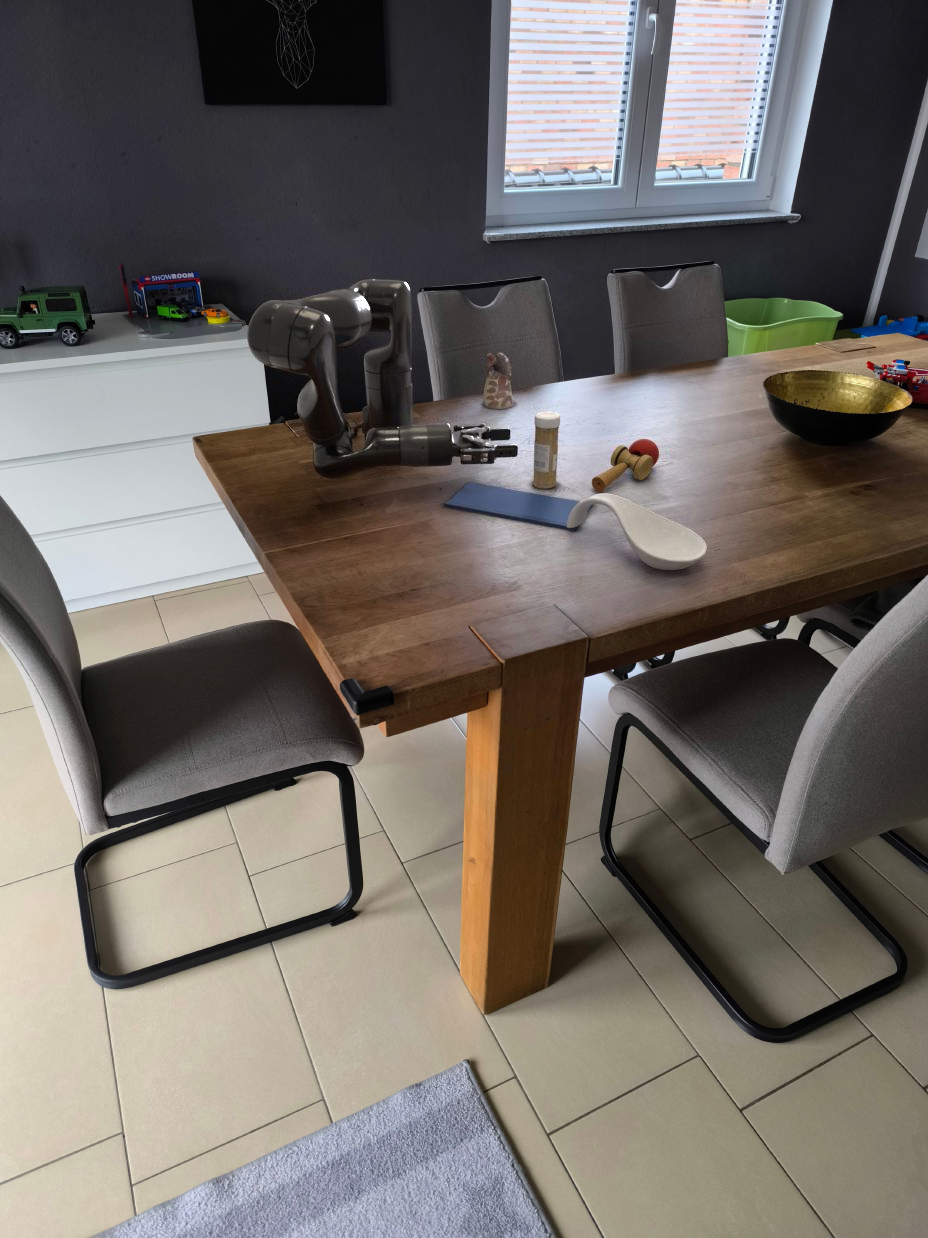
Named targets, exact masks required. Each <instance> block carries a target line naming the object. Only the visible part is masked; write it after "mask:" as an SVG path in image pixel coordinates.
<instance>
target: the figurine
mask: <svg viewBox="0 0 928 1238" xmlns="http://www.w3.org/2000/svg"><path fill="white" fill-rule="evenodd" d="M487 358H488V359H489V361H488V363H487V364H486V367H485V371H486V379H485V382H484V383H485V384H484V388H483V395H482V402H483V405H484V407H486V408H488V409H493V410H504V409H508V408H510V407H514V399H513V398H514V397H513V393H512V385H511V380H510V378H512V369H513V366H512V365H511V364H510V360H509V358H508V357H507V356H506V355H505V354H504V353H503V352H497V353H495V356H494V355H493V354H492V353H491V352H489V353H488V354H487ZM490 368H493V370H492V371H490Z"/></svg>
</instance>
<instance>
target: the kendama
mask: <svg viewBox="0 0 928 1238" xmlns="http://www.w3.org/2000/svg"><path fill="white" fill-rule="evenodd" d="M659 457H660V449H659V448H658V445H657V444H656V443H655V442H654V441H652V440H651V439H648V438H639V439H637V440H635V441H633V442H632V443H631V444H630V445H629V447H627V446H626V445H623V444H620V445H618V446H617V447H616V448H615V449H614V450H613V452H612V454H611V457H610V465H611V466H612V467H610V468H609V469H606V470H605V471H604V472H601V473H600V474H598V475H596V476H594V477H593V478H592V479H591V486H592V488H593V489H594V490H595V491H597V492H598V493H602V492H603V491H605V490H606V489H607V488H609V486H611V485H612V484H613V483H614V482H615V481H616V480H618V479H619V478H620V477H621V476H622V475H623V474H624V473H625V472H626V471H627V470H628V469H629V470H630V471H631V472H632V475H633V478H634V479H637V480H639V481H643V480H644V479H646V478H647V477H648V475H649V474H650V472H651V471H652V468H653V467H654V466H655V465H656V464H657V463H658V461H659Z"/></svg>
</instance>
